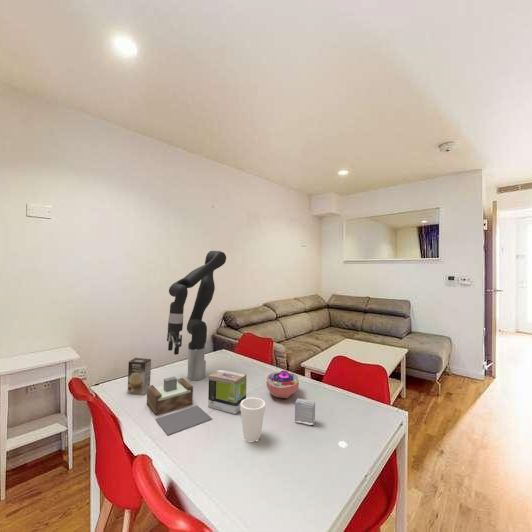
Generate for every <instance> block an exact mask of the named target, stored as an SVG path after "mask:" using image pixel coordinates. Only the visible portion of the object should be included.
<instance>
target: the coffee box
mask: <svg viewBox="0 0 532 532" xmlns="http://www.w3.org/2000/svg"><path fill="white" fill-rule="evenodd" d="M151 370H152V359H151V358H144V357H143V358H142V357H141V358H140V357H133V359H131V360H130V361H128V370H127V373H128V374H127V394H131V395H139V396H140V395H141V396H145V395H147V386H151V372H152V371H151Z"/></svg>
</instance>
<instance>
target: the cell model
mask: <svg viewBox="0 0 532 532" xmlns="http://www.w3.org/2000/svg"><path fill="white" fill-rule="evenodd" d="M265 384H266V388H267V390H268V391H269V393H270V394H271V396H273V397H276V398H278V397H279V398H280V399H288V398H290V396H293V394H295V393H296V392H297V391H298V390H299V385H300V380H299V376H298V375H297V374H295V373H293V372H289V371H287V370H285V369H283V370H281V371H279V372H275V371H274V372H272V373H270V374H268V375H266V383H265Z"/></svg>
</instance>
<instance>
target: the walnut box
mask: <svg viewBox="0 0 532 532" xmlns="http://www.w3.org/2000/svg"><path fill="white" fill-rule="evenodd" d="M177 382H179V383H181V384H182V385H183V386H184V387H185V388H187V389H190V390H191V392H189V393H186V394H182V395H179V396H175V397H171V398H168V399H164V400H161V401H158V398H159V397H162V394H161V393H160V392H159V391H158V390H157V389H156V387H155V386H154V385H151V384H150V386H147V393H146V406H147V407H148V409H149V410H150V411H151V412H152V414H153V415H154V416H156V417H157V416H160V415H162V414H166V413H169V412H172V411H176V410H179V409H182V408H186V407H189V406H192V405H193V404H194V401H193V399H194V395H193V394H194V386H193V385H192V384H191V383H190V382H189V381H187V380H186V379H185V378H183V377H181V378H177Z"/></svg>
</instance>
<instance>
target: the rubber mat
mask: <svg viewBox="0 0 532 532" xmlns="http://www.w3.org/2000/svg"><path fill="white" fill-rule="evenodd" d="M154 419H155V422H156V423H157V424H158V425H159V427H160V428H161V429H162V431H163V432H164V433H165V434H166V436H168V437H169V436H171V435H174V434H177V433H180V432H182V431H184V430H187V429H190V428H192V427H196V426H199V425H201V424H204V423H207V422H210V421H212V420H213V418H212V417H211V416H210V415H209V414H208V413H207V412H205V410H203V409H202V408H201V407H200V406H199V405H195V406H191V407H188V408H185V409H182V410H178V411H176V412H173V413H169V414H166V415H163V416H160V417H157V418H154Z"/></svg>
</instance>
